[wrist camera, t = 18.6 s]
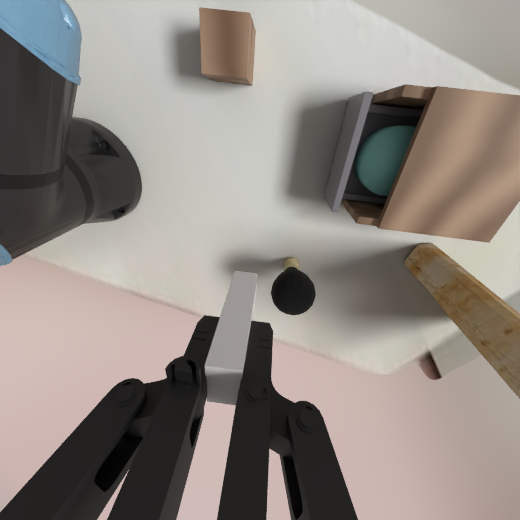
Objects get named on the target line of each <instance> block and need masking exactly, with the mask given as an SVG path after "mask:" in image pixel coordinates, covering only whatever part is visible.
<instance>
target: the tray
mask: <svg viewBox="0 0 520 520" xmlns="http://www.w3.org/2000/svg"><path fill="white" fill-rule="evenodd" d="M372 96H373V93H372V92H364V93H361V94H358V95H356V96H353V97H351V98H349V101H348V105H347V109H346V113H345V117H344V121H343V125H342V129H341V133H340V137H339V141H338V145H337V149H336V153H335V156H334V160H333V164H332V168H331V172H330V176H329V180H328V184H327V188H326V192H325V196H324V198H325V200H326V202H327V204H328V206H329V207H330V209H331V211H332V212H338V210H339V207H340V204H341V200H342V199H349V200H357V201H365V202H373V203H381V204H385V203H386V201H387V198H388V196H382V195H378V194H375V193H373V192H372V191H370V190H369V189H368V188H366V187H365V186H364V185H362V184H361V183H360V182H359V180H358V179H357V177H356V175H355V171H354V160H355V156H356V153H357V150H358V148H359V147H360V145H361V144H362V142H363V141H364V140H365V139H366V138H367V137H368V136H369V135H370V134H371V133H373V132H374V131H376V130H378V129H380V128H382V127H386V126H391V125H402V126H414V127H417V124H418V122H419V120H420V117H421V115H422V112H423V110H416V109H407V108H398V107H390V106H381V105H372V104H370V103H371V100H372Z"/></svg>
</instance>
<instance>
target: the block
mask: <svg viewBox="0 0 520 520" xmlns="http://www.w3.org/2000/svg"><path fill="white" fill-rule="evenodd" d="M199 11H200V44H201V74H203V75H205V76H206V77H208V78H210V79H211V80H213V81H219V82H228V83H236V84H245V85H252V79H253V64H254V48H255V32H256V31H255V28H254V24H253V21H252V18H251V14H250V13H246V12H237V11H227V10H218V9H209V8H199Z"/></svg>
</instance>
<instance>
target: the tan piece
mask: <svg viewBox="0 0 520 520" xmlns="http://www.w3.org/2000/svg"><path fill="white" fill-rule="evenodd" d="M404 264H405V265H406V267H407V268H408V269H409V270H410V271H411V273H412V274H413V275H414V276H415V277H416V278H417V279H418V281H419V282H420V283H421V284H422V285H423V286H424V287H425V288H426V289H427V290H428V291H429V292H430V294H431V295H432V296H433V297H434V299H435V300H436V301H437V302H438V304H439V305H440V306H441V307H442V308H443V310H444V311H445V312H446V313H447V315H448V316H449V317H450V318H451V319H452V320H453V322H454V323H455V324H456V325H457V326H458V327H459V329H460V330H461V331H462V332H463V333H464V334H465V336H466V337H467V338H468V339H469V340H470V341H471V343H472V344H473V345H474V346H475V347H476V348H477V350H478V351H479V352H480V353H481V354H482V355H483V356H484V358H485V359H486V360H487V361H488V362H489V364H490V365H492V367H493V368H494V369H495V370H496V371H497V373H498V374H499V375H500V376H501V377H502V378H503V380H504V381H505V382H506V383H507V384H508V386H509V387H510V388H511V389H512V390H513V391H514V393H515V394H516V395H517V396H518V397H519V398H520V314H519V313H518V312H517V311H516V310H514V309H513V308H512V307H511V306H509V305H508V304H507V303H506V302H504V301H503V300H502V299H501V298H499V297H498V296H497V295H496V294H494V293H493V292H492V291H491V290H490V289H488V288H487V287H486V286H485V285H483V284H482V283H481V282H480V281H478V280H477V279H476V278H475V277H474V276H472V275H471V274H470V273H469V272H467V271H466V270H465V269H464V268H463V267H461V266H460V265H459V264H458V263H456V262H455V261H454V260H453V259H451V258H450V257H449V256H448V255H446V254H445V253H444V252H443V251H441V250H440V249H439V248H438V247H436V246H435V245H434V244H418V245H417V246H416V247H415V248H414V249H413V250H412V251H411V253H410V254H409V255H408V257H407V258H406V259H405V263H404Z"/></svg>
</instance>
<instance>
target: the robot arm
mask: <svg viewBox="0 0 520 520" xmlns="http://www.w3.org/2000/svg"><path fill="white" fill-rule="evenodd" d="M81 39H82V37H81V29H80V25H79V23H78V20H77V18H76V16H75V14H74V12H73V10H72V9H71V7H70V6H69V5H68V3H67V2H66V1H65V0H0V266H1V265H6V264H9V263H10V262H12V261H11V260H13V259H15V258H17V257H19V256H21V255H23V254H25V253H27V252H28V251H30V250H32V249H34V248H36V247H38V246H40V245H42V244H44V243H46V242H48V241H50V240H52V239H54V238H56V237H58V236H60V235H62V234H64V233H66V232H68V231H70V230H72V229H74V228H76V227H78V226H80V225H82V224H86V223H97V222H108V221H113V220H117V219H119V218H121V217H123V216H125V215H127V214H128V213H130V212H131V211H132V210H134V208H135V207H136V206H137V204H138V202H139V200H140V197H141V191H142V183H141V177H140V173H139V169H138V167H137V164H136V162H135V160H134V158H133V156H132V155H131V153H130V152H129V150H128V149H127V147H126V146H125V145H124V144H123V143H122V141H121V140H120V139H119V138H118V137H117V136H116V135H114V134H113V133H112V132H111V131H109V130H108V129H107V128H105V127H104V126H102V125H100V124H98V123H96V122H94V121H91V120H88V119H84V118H74V117H72V114H73V108H74V102H75V97H76V91H77V85H80V82H81V78H80V76H79V63H80V49H81ZM257 279H258V273H250V272H242V271H235V272H234V275H233V278H232V281H231V284H230V288H229V291H228V294H227V297H226V300H225V303H224V306H223V309H222V313H221V316H220V317H213V316H206V315H205V316H204V317H203V318H202V319H201V320H200V321H199V322H198V323H197V325H196V328H195V330H194V333H193V335H192V338H191V340H190V343H189V344H188V347H187V349H186V351H185V354H184V356H181V357H179V358H176V359H174V360H173V361H172V362H170V363H169V364H168V366H167V367H166V369H165V370H166V375H167V378H166V379H164V380H160V381H156V382H151V383H146V384H143V382H142V381H140V380H139V379H134V378H131V379H126V380H124V381H122V382H120V383H118V384H117V385H116V386H114V388H112V389H111V390H110V391H109V393H108V394H107V395H106V396H105V397H104V398H103V399H102V400H101V401H100V402H99V404H98V405H97V406H96V407H95V408H94V409H93V410H92V412H90V414H89V415H88V416H87V417H86V418H85V419H84V420H83V421H82V422H81V423H80V425H79V426H78V427H77V428H76V429H75V430H74V431H73V433H72V434H71V435H70V436H69V437H68V438H67V439H66V440H65V441H64V443H62V445H61V446H60V447H59V448H58V449H57V450H56V451H55V452H54V454H53V455H52V456H51V457H50V458H49V459H48V460H47V461H46V462H45V463H44V465H43V466H42V467H41V468H40V469H39V470H38V471H37V472H36V473H35V474H34V476H33V477H32V478H31V479H30V480H29V481H28V482H27V484H25V486H24V487H23V488H22V489H21V490H20V491H19V492H18V494H16V496H15V497H14V498H13V499H12V500H11V501H10V502H9V503H8V504H7V506H6V507H5V508H4V509H3V510H2V511H1V512H0V520H97V519H98V517H99V515H100V514H101V512H102V511H103V509H104V508H105V506H106V504H107V503H108V501H109V500H110V498H111V497H112V495H113V493H114V492H115V490H116V489H117V487H118V486H119V484H120V482H121V481H122V479H123V478H124V476H125V474H126V473H127V471H128V470H129V471H128V473H127V476H126V478H125V480H124V483H123V485H122V487H121V489H120V492H119V494H118V496H117V498H116V501H115V503H114V505H113V508H112V510H111V512H110V514H109V517H108V519H107V520H176V518H177V514H178V511H179V507H180V503H181V499H182V495H183V492H184V488H185V484H186V480H187V477H188V473H189V469H190V465H191V461H192V458H193V454H194V450H195V446H196V442H197V439H198V435H199V431H200V428H201V423H202V420H203V416H204V405H205V401H206V398H207V401H209V402H216V403H224V404H232V405H236V409H235V415H234V420H233V426H232V433H231V439H230V445H229V451H228V457H227V463H226V469H225V475H224V481H223V487H222V493H221V499H220V506H219V512H218V517H217V520H266V512H267V487H268V463H269V448H270V449H271V450H273V451H275V452H276V453H278V454H280V459H281V465H282V470H283V476H284V482H285V487H286V493H287V499H288V504H289V510H290V515H291V520H358V519H357V516H356V513H355V510H354V507H353V504H352V501H351V498H350V495H349V492H348V489H347V487H346V484H345V481H344V478H343V475H342V472H341V469H340V466H339V463H338V460H337V457H336V454H335V451H334V449H333V446H332V443H331V440H330V437H329V434H328V431H327V428H326V425H325V422H324V419H323V417H322V415H321V413H320V411H319V410H318V409H317V408H316V407H315V406H314V405H313V404H311V403H309V402H307V401H299V402H296V403H294V402H292V401H290V400H288V399H286V398H284V397H283V396H281V395H280V394H279V393H278V392H277V391H276V390H275V388H274V387H273V385H272V381H271V365H272V341H273V330H272V328H271V326H270V323H265V322H257V321H253V314H254V307H255V299H256V289H257ZM129 468H130V469H129Z"/></svg>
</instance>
